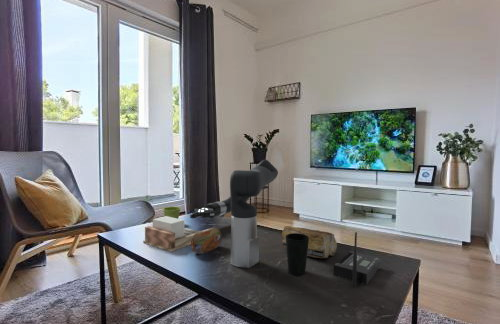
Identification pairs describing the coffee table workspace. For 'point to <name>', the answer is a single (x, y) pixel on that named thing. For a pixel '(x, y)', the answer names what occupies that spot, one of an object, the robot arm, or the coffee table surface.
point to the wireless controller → (357, 266)
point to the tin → (206, 240)
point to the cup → (297, 253)
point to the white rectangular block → (170, 225)
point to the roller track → (178, 243)
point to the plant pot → (172, 211)
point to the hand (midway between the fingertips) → (191, 216)
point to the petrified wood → (314, 241)
